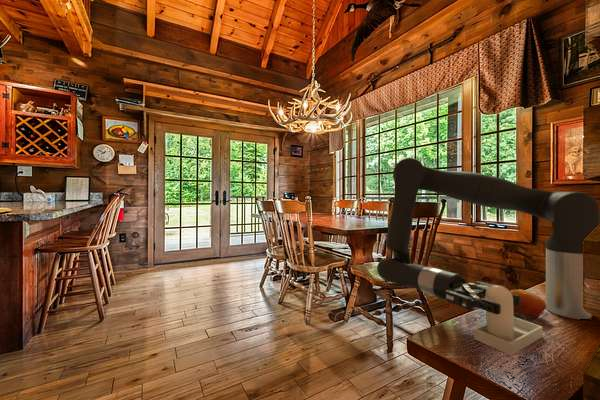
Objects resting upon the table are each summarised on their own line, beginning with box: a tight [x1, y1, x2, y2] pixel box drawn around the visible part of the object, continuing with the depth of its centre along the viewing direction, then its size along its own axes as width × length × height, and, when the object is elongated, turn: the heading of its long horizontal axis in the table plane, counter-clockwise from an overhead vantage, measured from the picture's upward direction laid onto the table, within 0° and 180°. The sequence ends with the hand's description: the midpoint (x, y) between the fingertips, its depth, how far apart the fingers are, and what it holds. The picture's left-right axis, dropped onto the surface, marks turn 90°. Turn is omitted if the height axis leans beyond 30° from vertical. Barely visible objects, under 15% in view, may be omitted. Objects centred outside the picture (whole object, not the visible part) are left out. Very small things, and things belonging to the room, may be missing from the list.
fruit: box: [509, 288, 546, 321], centre depth 72 cm, size 8×8×8 cm
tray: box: [473, 316, 544, 356], centre depth 61 cm, size 14×7×2 cm, turn 118°
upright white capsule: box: [484, 284, 515, 342], centre depth 60 cm, size 5×5×12 cm
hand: (510, 305), depth 58 cm, fingers open, 8 cm apart
